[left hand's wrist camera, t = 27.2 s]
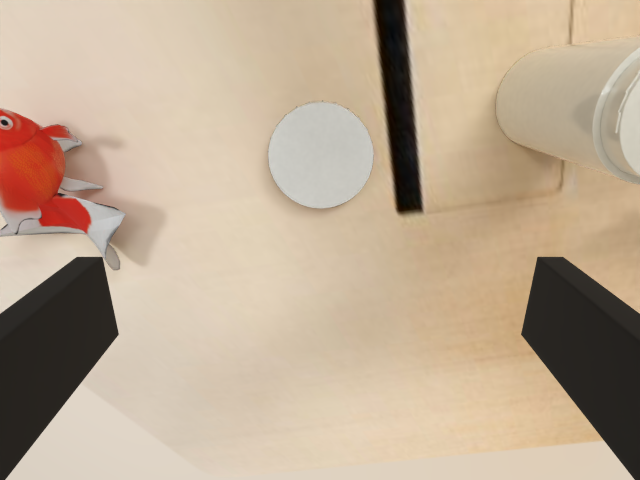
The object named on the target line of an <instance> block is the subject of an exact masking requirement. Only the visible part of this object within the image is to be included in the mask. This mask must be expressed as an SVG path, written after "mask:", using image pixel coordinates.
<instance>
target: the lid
mask: <svg viewBox="0 0 640 480" xmlns="http://www.w3.org/2000/svg"><path fill="white" fill-rule="evenodd" d="M359 119H360V118H359V117H357V116H355V115H354V114H353V113H352V112H351V111H349V109H348V108H347V109H346V108H345V107H343V106H340V105H338V104H337V103H331V102H323V101H322V102H321V101H319V102H311V103H310V102H309V103H307V104H304V105H301V106H299V107H296V108H295V109H294V110H292V111H291V112H290V113H288V114H286V115H285V117H284V118H283V119H282V120H281V122H280V123H279V124H277V126H276V129H275V131H274V132H273V135H272V137H271V138H270V139H271V140H270V144H269V150H268V161H269V167H270V171H271V174H272V176H273V179H274V181H275V182H276V184H277V186H278V187H279V188H280V189H281V191H282V192H283V193H284V194H285V195H286V196H288V197H289V198H290V199H292V200H293V201H295V202H297V203H299V204H301V205H304V206H307V207H312V208H330V207H335V206H338V205H341V204H343V203H345V202H347V201H348V200H350V199H351V198H353V197H354V196H355V195H356V194H357V193H358V192H359V191H360V190H361V189H362V188H363V186H364V185H365V183H366V182H367V180H368V178H369V176H370V173H371V170H372V165H373V156H374V155H373V146H372V141H371V138H370V135H369V133H368V131H367V130H368V129H367V128H366V127H365V126H364V125H363V123H362V122H361V121H360V120H359Z"/></svg>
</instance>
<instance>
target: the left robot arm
mask: <svg viewBox="0 0 640 480" xmlns="http://www.w3.org/2000/svg"><path fill="white" fill-rule="evenodd" d="M118 335H119V333H118V329H117V324H116V319H115V314H114V310H113V305H112V300H111V295H110V291H109V286H108V281H107V276H106V272H105V267H104V262H103V257H76V258H75V259H74V260H72V261H71V262H70V263H68V264H67V265H66V266H64V267H63V268H62V269H60V270H59V271H57V272H56V273H55V274H53V275H52V276H51V277H49V278H48V279H47V280H45V281H44V282H43V283H41V284H40V285H39V286H37V287H36V288H35V289H33V290H32V291H30V292H29V293H28V294H26V295H25V296H24V297H22V298H21V299H20V300H18V301H17V302H16V303H14V304H13V305H12V306H10V307H9V308H8V309H6V310H5V311H4V312H2V313H1V314H0V480H5V479H6V478H7V477H8V475H9V474H10V473H11V472H12V470H13V469H14V468H15V466H16V465H17V464H18V463H19V461H20V460H21V459H22V457H23V456H24V455H25V454H26V452H27V451H28V450H29V449H30V447H31V446H32V445H33V443H34V442H35V441H36V440H37V438H38V437H39V436H40V434H41V433H42V432H43V431H44V429H45V428H46V427H47V426H48V424H49V423H50V422H51V420H52V419H53V418H54V417H55V415H56V414H57V413H58V411H59V410H60V409H61V408H62V406H63V405H64V404H65V402H66V401H67V400H68V399H69V397H70V396H71V395H72V394H73V392H74V391H75V390H76V388H77V387H78V386H79V385H80V383H81V382H82V381H83V379H84V378H85V377H86V376H87V374H88V373H89V372H90V371H91V369H92V368H93V367H94V365H95V364H96V363H97V362H98V360H99V359H100V358H101V356H102V355H103V354H104V353H105V351H106V350H107V349H108V347H109V346H110V345H111V344H112V342H113V341H114V340H115V339H116V337H117V336H118ZM521 335H522V336H523V337H524V339H525V340H526V341H527V342H528V344H529V345H530V346H531V347H532V349H533V350H534V351H535V353H536V354H537V355H538V356H539V358H540V359H541V360H542V362H543V363H544V364H545V365H546V367H547V368H548V369H549V371H550V372H551V373H552V374H553V376H554V377H555V378H556V379H557V381H558V382H559V383H560V385H561V386H562V387H563V388H564V390H565V391H566V392H567V394H568V395H569V396H570V397H571V399H572V400H573V401H574V402H575V404H576V405H577V406H578V408H579V409H580V410H581V411H582V413H583V414H584V415H585V417H586V418H587V419H588V420H589V422H590V423H591V424H592V426H593V427H594V428H595V429H596V431H597V432H598V433H599V434H600V436H601V437H602V438H603V440H604V441H605V442H606V443H607V445H608V446H609V447H610V449H611V450H612V451H613V452H614V454H615V455H616V456H617V458H618V459H619V460H620V461H621V463H622V464H623V465H624V466H625V468H626V469H627V470H628V472H629V473H630V474H631V475H632V477H633V478H634V479H635V480H640V314H639V313H638V312H636V311H635V310H634V309H632V308H631V307H630V306H628V305H627V304H626V303H624V302H623V301H622V300H620V299H619V298H618V297H616V296H615V295H614V294H612V293H611V292H610V291H608V290H607V289H605V288H604V287H603V286H601V285H600V284H599V283H597V282H596V281H595V280H593V279H592V278H591V277H589V276H588V275H587V274H585V273H584V272H583V271H581V270H580V269H578V268H577V267H576V266H574V265H573V264H572V263H570V262H569V261H568V260H566V259H565V258H564V257H537V262H536V267H535V272H534V276H533V281H532V286H531V291H530V295H529V300H528V305H527V310H526V314H525V319H524V324H523V329H522V333H521Z"/></svg>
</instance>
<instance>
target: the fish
mask: <svg viewBox="0 0 640 480" xmlns="http://www.w3.org/2000/svg"><path fill="white" fill-rule="evenodd" d="M80 145H82V142H81V141H80V140H79V139H77V138H76V137H75V136H74V135H73V134H71V133H70V132H69V130H68V128H67V127H65V126H60V125H51V126H47V127H44V128H43V127H42V126H40V125H38V124H37V123H35V122H33V121H32V120H30V119H28V118H26V117H23V116H21V115H19V114H17V113H14V112H11V111H9V110H5V109H2V108H0V212H1V214H2V216H3V218H4V219H5V221H6V222H7V225H6V226H4V227H3V228H2V229H1V230H0V237H1V236H16V235H32V234H50V233H81V234H86V235H87V236H88V237H89V238H90V239H91V240H92V241H93V243H94V244H95V245H96V247H97V248H98V249H99V251H100V252H101V254H102V256H103V258H104V259H105V260H106V262H107V263H108V265H109V266H110V267H111V268H112V269H113V270H119V269H120V260H119V258H118V255H117V253H116V252H115V250H114V248H113V247H112V246H111V245H109V242H110V240H111V237H112V236H113V234H114V233H115V231H116V230H117V228H118V227H119V225H120V224H121V222H122V220H123V218H124V216H125V213H124V212H122V211H120V210H118V209H116V208H114V207H110V206H106V205H102V204H97V203H94V202H90V201H87V200H84V199H80V198H77V197H73V196H69V195H65V194H61V193H58V189H59V188H61V189H63V190H65V191H80V190H88V189H102V188H103V186H99V185H96V184H93V183H89V182H86V181H81V180H75V179H70V178H67V177H65V176H64V173H65V157H64V152H66V151H69V150H71V149H72V148H74V147H77V146H80ZM63 151H64V152H63Z"/></svg>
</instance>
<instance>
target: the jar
mask: <svg viewBox="0 0 640 480" xmlns="http://www.w3.org/2000/svg"><path fill="white" fill-rule="evenodd" d="M496 116H497V120H498V123H499V125H500V128H501V129H502V131H503V132H504V134H505V135H506V136H507V137H508V138H509V139H510V140H512V141H513V142H515V143H516V144H519V145H521V146H524V147H527V148H530V149H533V150H536V151H539V152H542V153H544V154H547V155H550V156H553V157H556V158H559V159H562V160H565V161H568V162H571V163H574V164H577V165H580V166H583V167H585V168H588V169H591V170H594V171H597V172H600V173H603V174H606V175H609V176H612V177H615V178H618V179H621V180H624V181H626V182H630V183H634V184H640V35H634V36H627V37H619V38H611V39H604V40H596V41H589V42H581V43H573V44H566V45H558V46H551V47H545V48H540V49H537V50H535V51H532V52H530V53H528V54H527V55H525V56H524V57H522V58H521V59H520V60H518V61H517V62H516V63H515V64H514V65H513V66H512V67H511V68H510V70H509V71H508V72H507V74H506V75H505V77H504V78H503V80H502V82H501V84H500V87H499V90H498V93H497V98H496Z"/></svg>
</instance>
